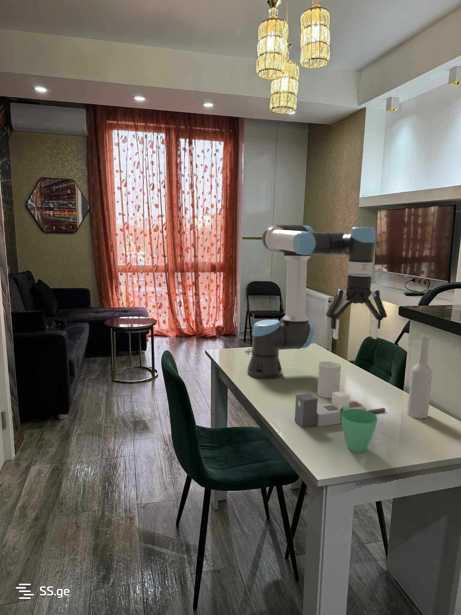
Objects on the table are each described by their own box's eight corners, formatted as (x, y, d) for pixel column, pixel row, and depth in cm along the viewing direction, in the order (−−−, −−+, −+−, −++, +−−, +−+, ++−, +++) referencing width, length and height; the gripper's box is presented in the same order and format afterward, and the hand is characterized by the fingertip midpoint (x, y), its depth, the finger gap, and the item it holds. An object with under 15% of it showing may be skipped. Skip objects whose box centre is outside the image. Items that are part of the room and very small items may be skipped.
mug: (381, 455, 118) (384, 422, 117) (348, 458, 116) (351, 424, 115) (355, 431, 133) (358, 401, 131) (326, 433, 131) (328, 403, 129)
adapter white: (331, 405, 143) (332, 392, 142) (341, 403, 144) (342, 391, 143) (338, 409, 139) (339, 396, 138) (348, 408, 140) (349, 395, 140)
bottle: (407, 409, 151) (415, 332, 146) (428, 413, 148) (436, 335, 143) (406, 416, 145) (414, 336, 140) (427, 420, 142) (436, 339, 137)
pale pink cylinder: (339, 399, 159) (341, 368, 157) (317, 397, 161) (319, 366, 159) (338, 391, 167) (340, 362, 165) (317, 389, 169) (319, 360, 167)
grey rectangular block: (294, 420, 139) (295, 394, 138) (316, 417, 142) (317, 392, 140) (302, 427, 134) (303, 400, 133) (324, 423, 137) (326, 397, 136)
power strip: (307, 417, 142) (308, 404, 141) (378, 407, 152) (379, 395, 151) (318, 426, 136) (319, 413, 135) (391, 415, 146) (393, 402, 145)
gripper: (326, 275, 133) (322, 341, 137) (401, 276, 136) (395, 340, 140) (319, 273, 140) (315, 335, 144) (389, 274, 144) (384, 335, 147)
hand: (354, 338), depth 142 cm, fingers open, 13 cm apart
